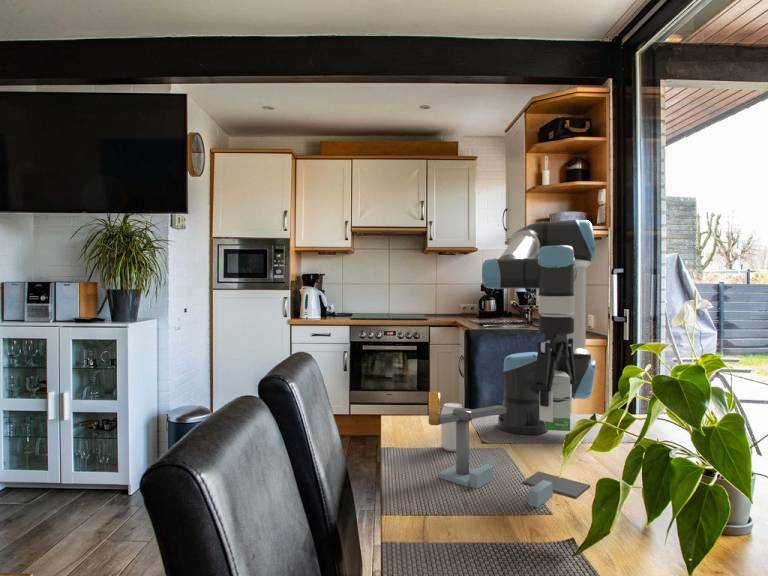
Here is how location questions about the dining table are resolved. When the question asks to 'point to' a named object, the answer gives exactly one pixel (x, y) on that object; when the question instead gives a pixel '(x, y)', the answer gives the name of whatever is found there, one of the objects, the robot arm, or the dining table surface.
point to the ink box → (560, 402)
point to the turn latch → (458, 411)
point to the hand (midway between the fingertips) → (556, 416)
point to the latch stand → (484, 470)
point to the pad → (559, 484)
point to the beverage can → (449, 428)
